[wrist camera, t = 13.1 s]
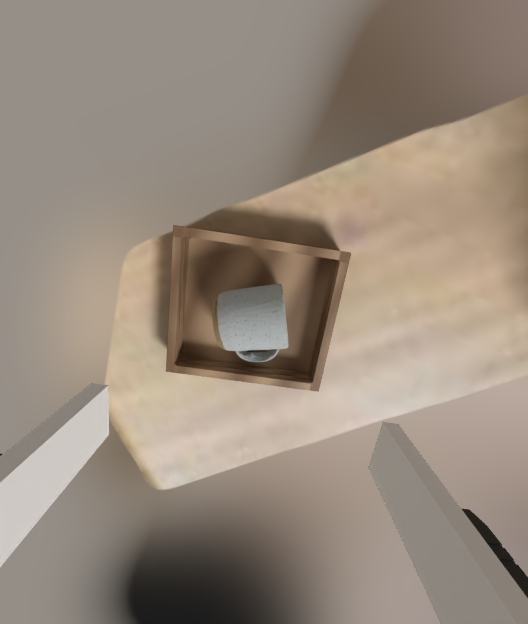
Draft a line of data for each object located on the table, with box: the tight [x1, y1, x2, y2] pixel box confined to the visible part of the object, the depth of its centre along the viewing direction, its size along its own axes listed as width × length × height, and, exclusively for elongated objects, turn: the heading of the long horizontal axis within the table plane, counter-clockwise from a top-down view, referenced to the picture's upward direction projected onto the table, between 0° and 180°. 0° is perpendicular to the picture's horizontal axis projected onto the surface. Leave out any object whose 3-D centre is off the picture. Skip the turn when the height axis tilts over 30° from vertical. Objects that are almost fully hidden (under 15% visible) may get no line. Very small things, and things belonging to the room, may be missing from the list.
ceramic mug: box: [212, 284, 289, 362], centre depth 30 cm, size 11×8×8 cm
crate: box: [166, 225, 351, 392], centre depth 32 cm, size 20×18×4 cm
